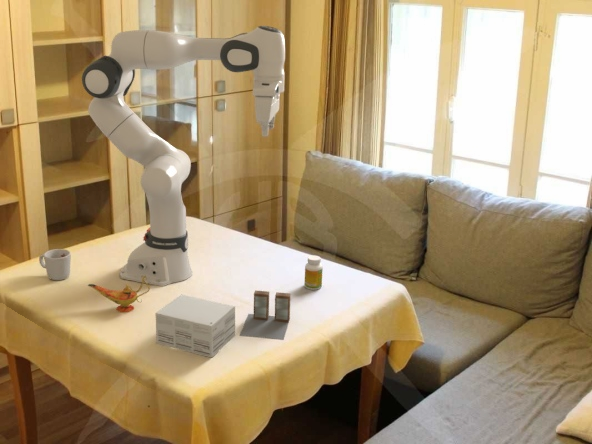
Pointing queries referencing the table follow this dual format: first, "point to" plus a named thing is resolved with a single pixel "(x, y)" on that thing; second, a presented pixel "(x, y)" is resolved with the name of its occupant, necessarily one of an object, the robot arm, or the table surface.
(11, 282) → the table surface
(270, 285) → the table surface
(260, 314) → the left walnut tile
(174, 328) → the supplement box
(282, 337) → the slate rubber mat
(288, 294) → the right walnut tile
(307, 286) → the supplement bottle
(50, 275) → the cup
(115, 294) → the magic lamp
